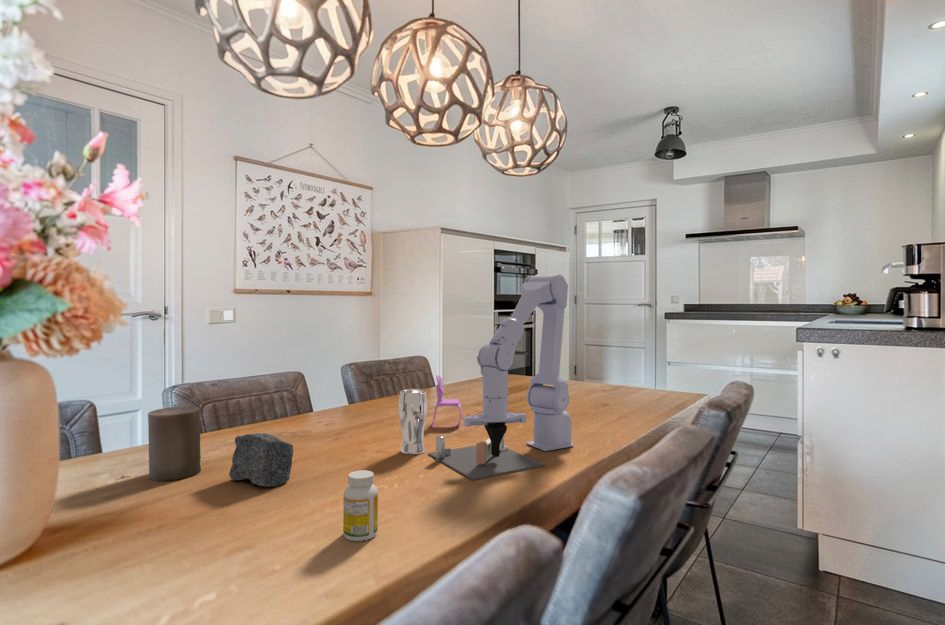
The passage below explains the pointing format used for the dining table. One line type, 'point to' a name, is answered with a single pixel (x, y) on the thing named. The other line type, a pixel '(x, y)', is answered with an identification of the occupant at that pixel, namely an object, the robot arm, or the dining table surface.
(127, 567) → the dining table surface
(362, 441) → the dining table surface
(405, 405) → the beer glass
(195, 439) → the pillar candle
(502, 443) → the post
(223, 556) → the dining table surface
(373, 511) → the supplement bottle
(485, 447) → the gate
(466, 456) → the mat
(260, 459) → the stone
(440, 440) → the post
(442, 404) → the toy chair
